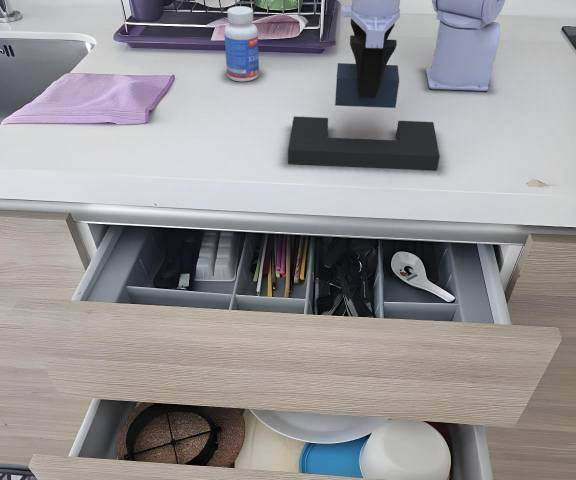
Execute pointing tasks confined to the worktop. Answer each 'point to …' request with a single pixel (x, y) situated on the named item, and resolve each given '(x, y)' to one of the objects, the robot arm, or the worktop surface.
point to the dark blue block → (349, 88)
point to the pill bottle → (241, 45)
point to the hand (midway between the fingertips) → (367, 88)
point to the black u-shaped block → (364, 146)
